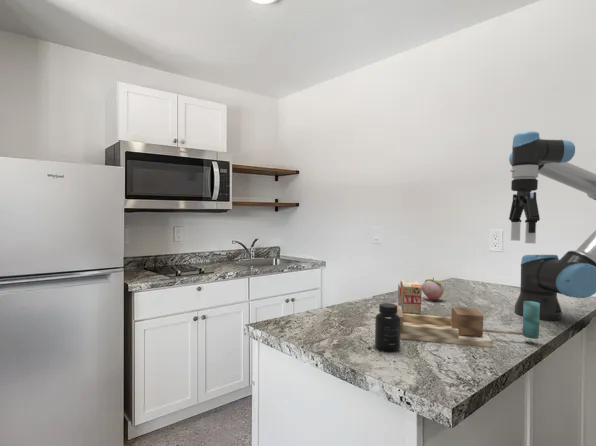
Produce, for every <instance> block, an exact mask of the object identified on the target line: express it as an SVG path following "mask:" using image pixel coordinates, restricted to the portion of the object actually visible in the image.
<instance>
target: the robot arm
mask: <svg viewBox="0 0 596 446" xmlns="http://www.w3.org/2000/svg"><path fill="white" fill-rule="evenodd" d="M511 148H512V152H511V153H510V155H509V156H508V160H509V164H510V166H512V167H511V169H510V173H511V179H512V180H511V184H510V185H511V186H510V188H511V191H512V192H516V194H515V193H513V195H512V201H511V202H512V203H511V207H510V212H509V217H508V220H509V221H510V222H511V226H510V228H511V229H510V241H516V242H517V241H521V223H522V219H521V218H522V215H523V212H524V216H525V218H526V219H525V221H524V223H525V234H524V235H525V238H524V243H525V244H536V241H537V240H536V239H537V223H538V222H539V221H540V220H541V218H540V212H539V206H538V200H537V192H536V191H538V183H539V180H538V179H537V178H538V177H539V175H541V176H542V177H543V176H544V177H546V178H548V179H551V180H554V181H555V182H558V183H560V184H563V185H565V186H568V187H571V188H572V189H575V190H578V191H580V192H583V193H585V194H586V195H587V197H588V198H589V199H592V200H594V201H596V173H594V172H592V171H589V170H587V169H585V168H582V167H580V166H577V165H575V164H573V163H570V161H571V160H572V159H573V158H574V156H575V154H576V146H575V144H574V143H573V142H572V141H571V140H566V139H543V138H541V137H540V133H539V132H537V131H535V130H534V131H532V130H531V131H523V132H522V131H521V132H518V133H516V134H514V136H513V139H512V146H511ZM558 294H560V295H563V296H565V297H569V298H576V299H577V298H578V299H586V298H589V297H592V296H593V295H595V294H596V229H595V230H594V231H593V232H592V234H590V235H588V237H587V238H586V240H584V242H582V243H581V245H580V246H579V247H577V249H576V250H568V251H567V252H566V253H565V254H564V255H563V256H561V258H560V259H559V256H558V255H557V254H524V255H523V256H522V257H521V263H520V292H519V295H518V297H517V299H516V302H515V305H514V311H513V312H514V313H515V314H517V315H519V316H521V317H523V306H524V301H533V302H538V303H540V314H539V320H542V321H543V320H544V321H558V320H562V319H563V311H562V308H561V305H560V302H559V300H558V299H559V298H558Z"/></svg>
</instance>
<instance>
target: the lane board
mask: <svg viewBox="0 0 596 446" xmlns="http://www.w3.org/2000/svg"><path fill="white" fill-rule="evenodd" d="M396 314H397V315H398V316H399V317H400V319H401V329H400V340H402V339H403V340H412V341H420V342H421V341H422V342H434V343H442V344H443V343H444V344H455V345H465V346H475V347H477V346H478V347H485V348H493V346H494V344H493V340H492V338H490V336H489V335H488V334H487V332H483V337H480V336H469V335H459V330H458V329H455V328H453V327H452V326H451V319H452V317H451V316H440V315H425V314H421V315H416V314H404V313H402V308H401V306H398V305H397V313H396Z"/></svg>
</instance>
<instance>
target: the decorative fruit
mask: <svg viewBox="0 0 596 446" xmlns="http://www.w3.org/2000/svg"><path fill="white" fill-rule="evenodd" d="M421 287H422V293H423V294H424V296H425V297H427V298H428V299H429V300H431V301H436V300H438V299H440V298H441V297H442V296H443V295H444V292H445V287H444V285H443V283H442V282H441V281H440V280H434V277H432V279H430V278H429V279H425V280H424V282H423V283H422V285H421Z"/></svg>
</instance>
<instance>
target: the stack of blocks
mask: <svg viewBox="0 0 596 446" xmlns="http://www.w3.org/2000/svg"><path fill="white" fill-rule="evenodd" d="M397 289H398V290H397V291H398V295H397V296H398V297H397V298H398V299H397V300H398V303H397V306H401V308H402V313H404V314H416V315H422V313H421V312H422V311H421V310H422V293H423V291H422V285H421V284H420V283H419V282H418V281H417V280H410V279H409V280H404V279H400V283H398V286H397Z"/></svg>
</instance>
